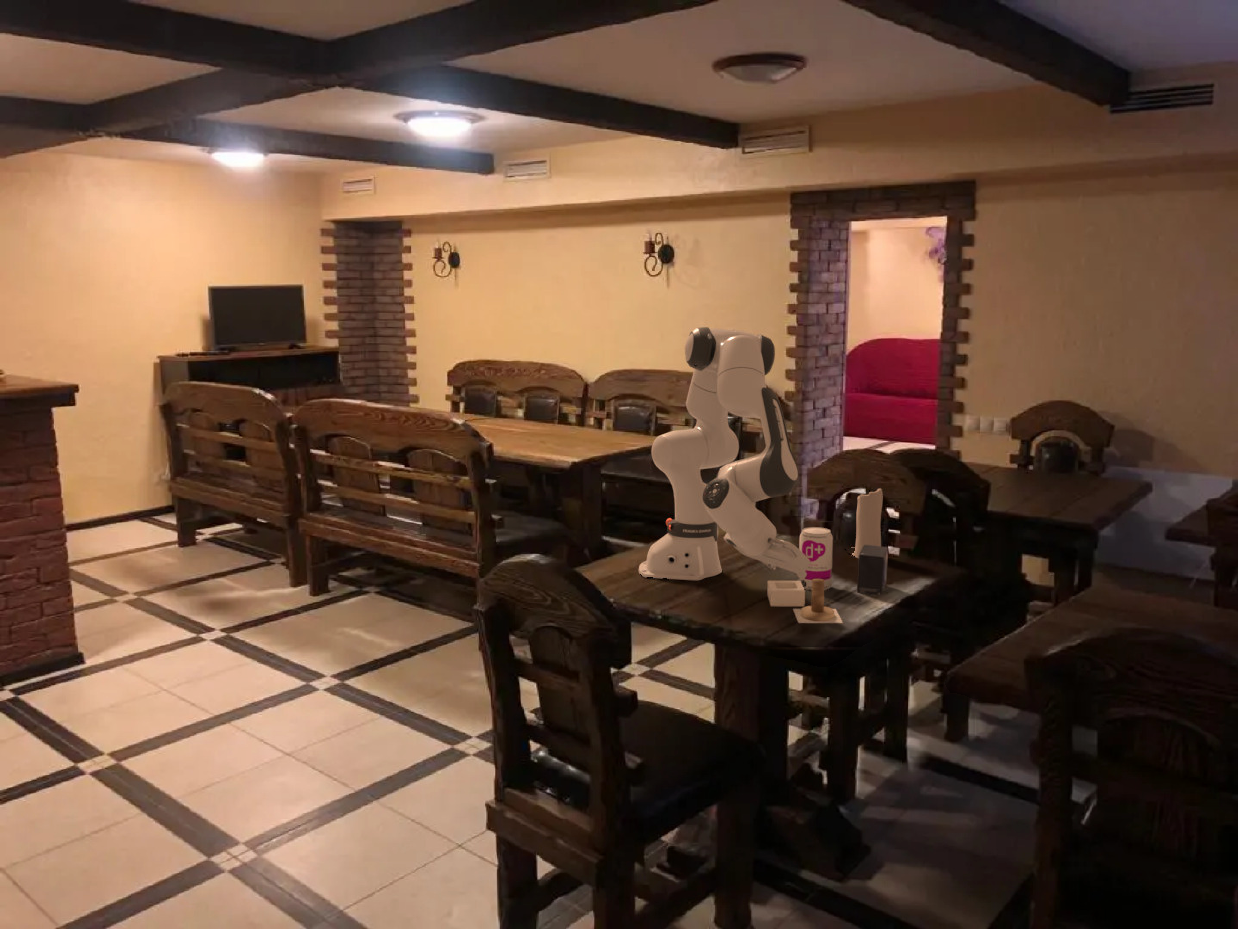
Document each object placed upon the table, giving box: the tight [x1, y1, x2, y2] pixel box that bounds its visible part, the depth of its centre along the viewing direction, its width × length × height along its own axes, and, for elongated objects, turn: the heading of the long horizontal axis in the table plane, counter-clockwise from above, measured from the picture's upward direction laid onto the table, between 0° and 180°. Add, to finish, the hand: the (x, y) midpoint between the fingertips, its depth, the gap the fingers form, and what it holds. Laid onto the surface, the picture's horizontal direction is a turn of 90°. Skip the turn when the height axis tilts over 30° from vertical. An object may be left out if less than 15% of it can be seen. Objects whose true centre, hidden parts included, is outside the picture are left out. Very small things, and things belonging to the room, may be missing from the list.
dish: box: [767, 580, 806, 607], centre depth 240 cm, size 8×8×4 cm
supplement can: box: [798, 526, 834, 591], centre depth 252 cm, size 8×8×15 cm
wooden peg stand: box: [800, 579, 834, 621], centre depth 229 cm, size 8×8×8 cm
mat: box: [792, 608, 844, 624], centre depth 229 cm, size 10×10×1 cm
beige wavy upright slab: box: [851, 487, 884, 559], centre depth 283 cm, size 7×14×20 cm, turn 19°
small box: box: [856, 545, 889, 595], centre depth 249 cm, size 11×6×10 cm, turn 160°
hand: (788, 571), depth 222 cm, fingers open, 8 cm apart
